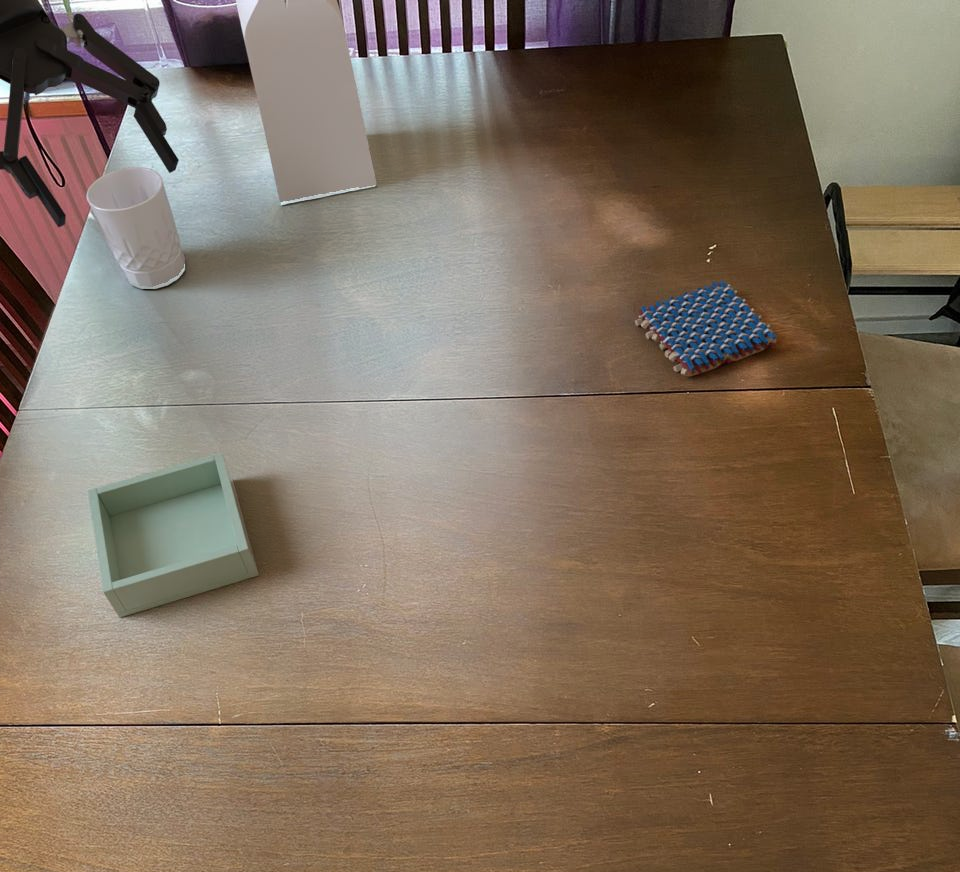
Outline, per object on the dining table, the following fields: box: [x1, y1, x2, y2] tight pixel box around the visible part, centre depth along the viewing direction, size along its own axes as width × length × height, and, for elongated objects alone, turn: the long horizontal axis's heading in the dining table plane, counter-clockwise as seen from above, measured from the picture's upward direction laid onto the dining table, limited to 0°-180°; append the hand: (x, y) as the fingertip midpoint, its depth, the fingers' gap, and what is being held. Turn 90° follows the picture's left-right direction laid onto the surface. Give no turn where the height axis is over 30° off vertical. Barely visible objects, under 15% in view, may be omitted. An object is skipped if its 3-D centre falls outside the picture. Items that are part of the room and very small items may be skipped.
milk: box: [235, 0, 377, 203], centre depth 110 cm, size 12×12×26 cm
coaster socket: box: [87, 451, 260, 618], centre depth 87 cm, size 12×12×4 cm
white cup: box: [85, 166, 186, 287], centre depth 107 cm, size 8×8×10 cm
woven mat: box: [634, 281, 777, 377], centre depth 98 cm, size 10×11×2 cm
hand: (119, 193), depth 106 cm, fingers open, 13 cm apart
